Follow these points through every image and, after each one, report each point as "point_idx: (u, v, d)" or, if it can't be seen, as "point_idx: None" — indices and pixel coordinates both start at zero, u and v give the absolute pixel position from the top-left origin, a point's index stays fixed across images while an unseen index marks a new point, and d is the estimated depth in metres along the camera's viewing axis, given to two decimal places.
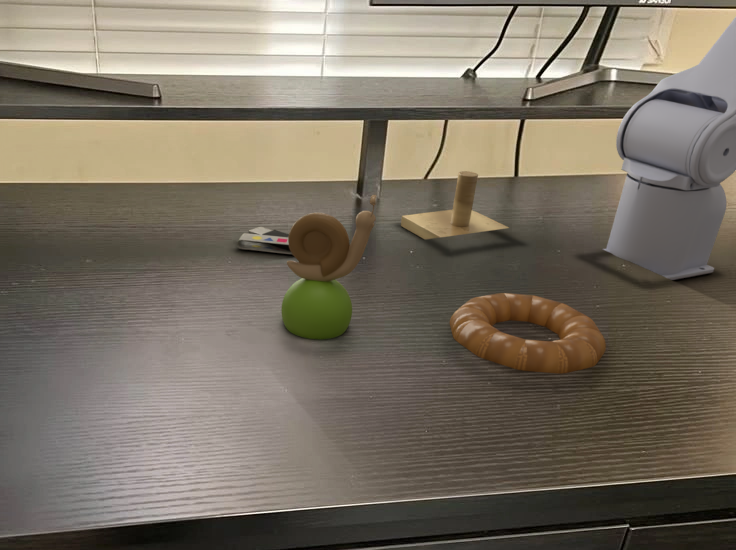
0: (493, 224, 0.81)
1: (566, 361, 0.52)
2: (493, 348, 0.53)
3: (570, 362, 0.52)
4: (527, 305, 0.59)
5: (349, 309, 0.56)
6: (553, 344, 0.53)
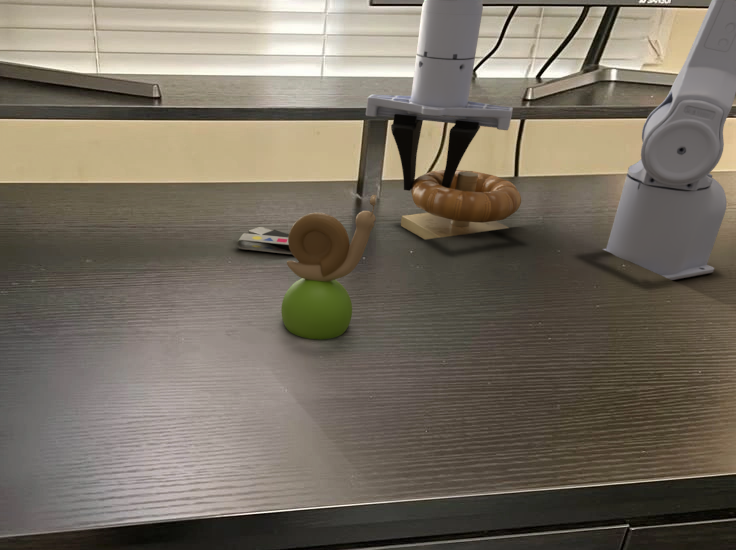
0: (493, 224, 0.81)
1: (490, 204, 0.74)
2: (439, 196, 0.75)
3: (492, 205, 0.74)
4: None
5: (349, 309, 0.56)
6: (481, 193, 0.75)
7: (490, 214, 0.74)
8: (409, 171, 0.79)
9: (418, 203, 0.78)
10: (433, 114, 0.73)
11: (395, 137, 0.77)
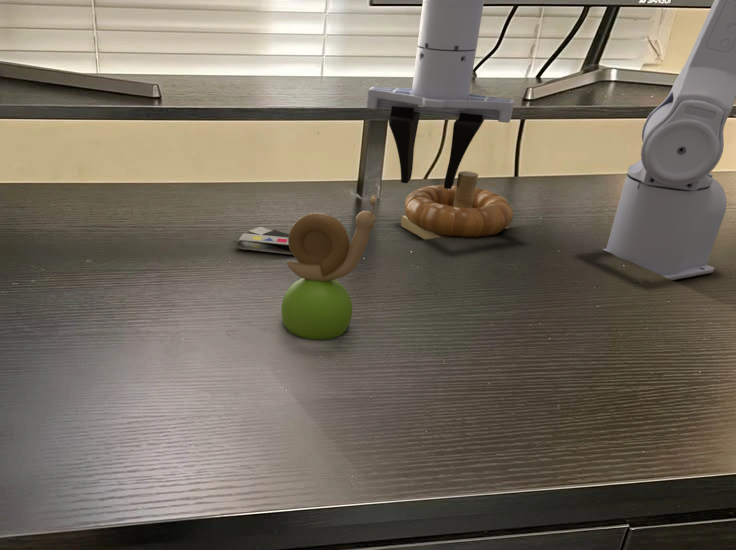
0: None
1: (482, 220, 0.75)
2: (432, 213, 0.76)
3: (484, 220, 0.75)
4: None
5: (349, 309, 0.56)
6: (473, 209, 0.76)
7: (482, 229, 0.75)
8: (406, 163, 0.78)
9: (411, 219, 0.79)
10: (434, 106, 0.72)
11: (392, 129, 0.76)
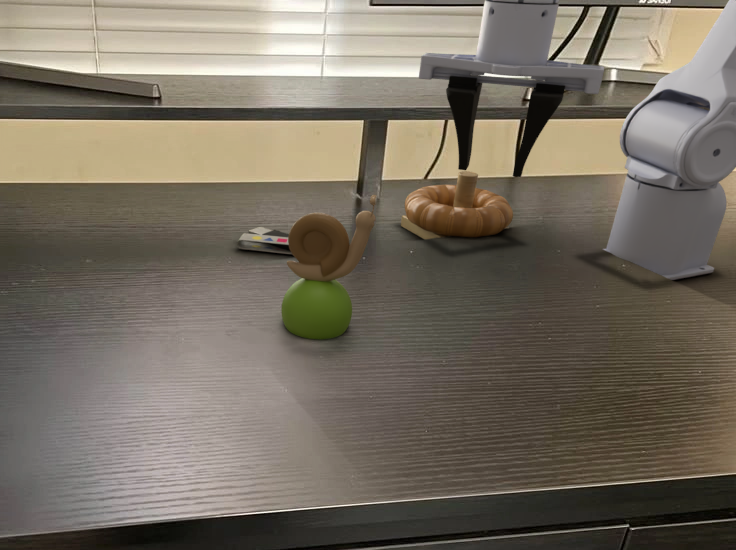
0: None
1: (482, 220, 0.75)
2: (432, 213, 0.76)
3: (484, 220, 0.75)
4: None
5: (349, 309, 0.56)
6: (473, 209, 0.76)
7: (482, 229, 0.75)
8: (466, 146, 0.65)
9: (411, 219, 0.79)
10: (507, 73, 0.59)
11: (451, 104, 0.63)
